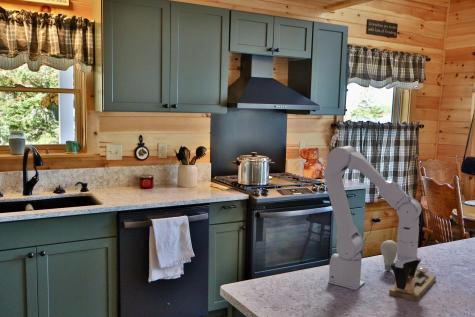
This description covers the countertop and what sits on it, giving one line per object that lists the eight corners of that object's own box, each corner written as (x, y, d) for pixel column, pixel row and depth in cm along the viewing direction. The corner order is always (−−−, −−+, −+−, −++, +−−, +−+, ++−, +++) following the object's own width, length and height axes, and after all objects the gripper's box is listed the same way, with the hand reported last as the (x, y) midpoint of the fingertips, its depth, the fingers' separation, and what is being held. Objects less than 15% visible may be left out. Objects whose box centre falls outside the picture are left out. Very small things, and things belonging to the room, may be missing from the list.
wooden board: (388, 294, 136) (389, 289, 136) (410, 274, 153) (410, 270, 153) (416, 301, 131) (416, 296, 131) (435, 280, 148) (435, 275, 148)
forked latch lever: (394, 290, 135) (395, 274, 134) (409, 275, 147) (410, 261, 146) (411, 294, 132) (412, 278, 131) (425, 279, 144) (426, 264, 143)
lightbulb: (401, 273, 154) (403, 242, 153) (387, 275, 152) (389, 243, 151) (389, 267, 160) (391, 237, 159) (375, 269, 157) (377, 238, 156)
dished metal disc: (413, 274, 148) (413, 268, 148) (416, 271, 152) (417, 265, 151) (425, 277, 146) (426, 271, 146) (429, 274, 149) (429, 268, 149)
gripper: (414, 248, 124) (411, 295, 126) (428, 237, 136) (425, 280, 137) (389, 243, 129) (386, 289, 130) (404, 233, 140) (402, 275, 142)
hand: (404, 284), depth 134 cm, fingers open, 7 cm apart
